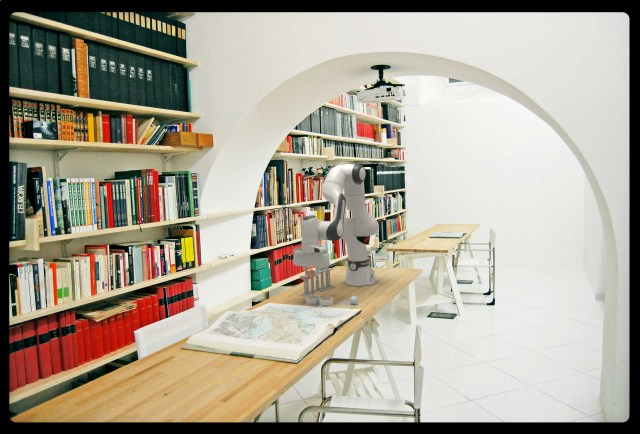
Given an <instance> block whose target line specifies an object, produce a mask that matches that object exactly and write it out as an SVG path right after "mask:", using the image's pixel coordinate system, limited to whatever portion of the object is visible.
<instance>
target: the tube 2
mask: <svg viewBox="0 0 640 434" xmlns="http://www.w3.org/2000/svg"><path fill="white" fill-rule="evenodd" d="M333 303H334V298H333V297H330V296H321V297H320V298H319V304H320V305H323V306H328V305H330V306H333V305H334V304H333ZM328 307H329V306H328Z"/></svg>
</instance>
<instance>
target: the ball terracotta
mask: <svg viewBox="0 0 640 434" xmlns="http://www.w3.org/2000/svg"><path fill="white" fill-rule="evenodd" d="M314 272H315V270H314V269H313V270H311V269H310V270H308V276H309V278H310V279H311V278H313V277H314V278H316V276H314Z"/></svg>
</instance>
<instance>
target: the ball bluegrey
mask: <svg viewBox="0 0 640 434" xmlns="http://www.w3.org/2000/svg"><path fill="white" fill-rule="evenodd" d="M358 300H359V299H358V297H357V296H355V295H352V296H350V297H349V302H350V303H351V304H356V303H359V301H358Z"/></svg>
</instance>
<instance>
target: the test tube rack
mask: <svg viewBox="0 0 640 434" xmlns="http://www.w3.org/2000/svg"><path fill="white" fill-rule="evenodd" d="M314 269H315V268H314ZM314 269H310V270H314ZM332 270H334V268H331V267H326V268H321V267H320V269H319V271H318V276H315V277H313V278H310V277H309V276H308V275H305V274H302V275H299V277H300V278H303V293H301V294H300V296H304V297H307V296H310V295H315V294H317V293H319V292H321V293H322V292H324V291H327V290H330V289H333V288H335V285H331V273H330V272H331V271H332ZM314 271H316V269H315V270H314ZM324 277H325V279H324ZM309 278H310V281H309ZM314 279H315V280H314Z"/></svg>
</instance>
